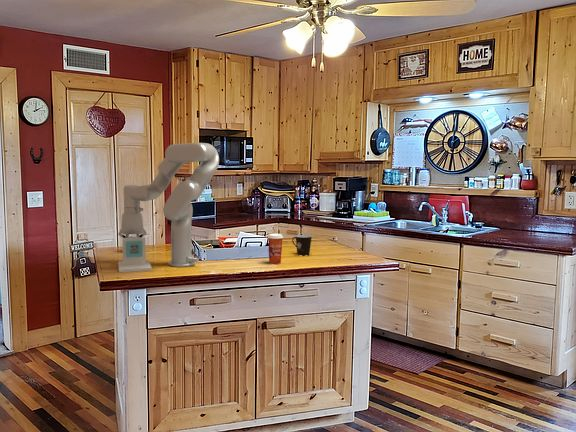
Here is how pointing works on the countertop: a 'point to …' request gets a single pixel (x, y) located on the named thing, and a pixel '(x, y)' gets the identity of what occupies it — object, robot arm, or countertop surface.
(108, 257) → the countertop surface
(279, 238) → the paper cup
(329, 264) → the countertop surface
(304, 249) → the coffee mug
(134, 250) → the shaft
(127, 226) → the robot arm
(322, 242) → the countertop surface
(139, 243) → the spacer
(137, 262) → the bracket
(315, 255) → the countertop surface
